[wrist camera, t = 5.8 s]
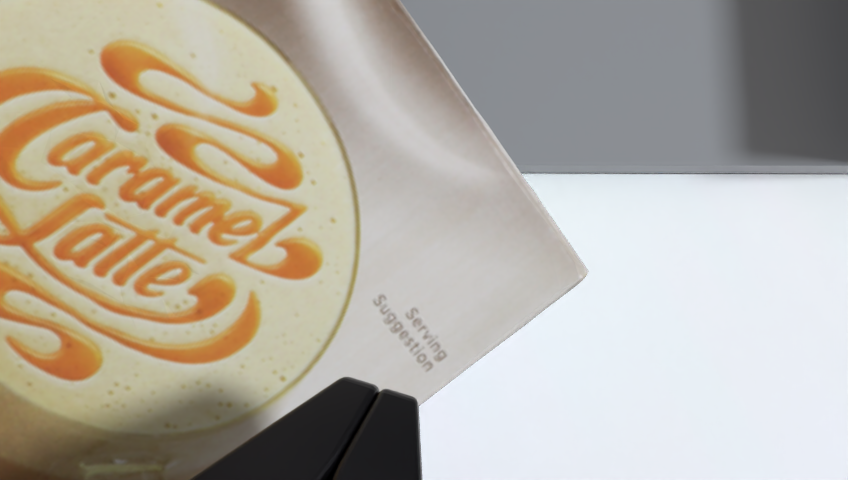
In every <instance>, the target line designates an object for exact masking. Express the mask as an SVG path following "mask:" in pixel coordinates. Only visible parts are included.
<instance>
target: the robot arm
mask: <svg viewBox="0 0 848 480" xmlns="http://www.w3.org/2000/svg"><path fill="white" fill-rule="evenodd" d="M188 480H422V462H421V443H420V424H419V405H418V401H417V399H416V398H415V397H413V396H410V395H406V394H403V393H400V392H397V391H394V390H390V389H383V390H381V391H380V390H379V388H378V387H377V386H376V385H374V384H371V383H368V382H365V381H362V380H358V379H355V378H352V377H342V378H340V379H338V380H337V381H335V382H334V383H332V384H331V385H329V386H328V387H326V388H325V389H323V390H322V391H320V392H319V393H317V394H316V395H314V396H313V397H311V398H310V399H308V400H307V401H305V402H304V403H302V404H301V405H299V406H298V407H296V408H295V409H293V410H292V411H290V412H289V413H287V414H286V415H284V416H283V417H281V418H280V419H278V420H277V421H275V422H274V423H272V424H271V425H269V426H268V427H266V428H265V429H263V430H262V431H260V432H259V433H257V434H256V435H254V436H253V437H251V438H250V439H248V440H247V441H245V442H244V443H242V444H241V445H239V446H238V447H236V448H235V449H233V450H232V451H230V452H229V453H227V454H226V455H224V456H223V457H221V458H220V459H218V460H217V461H215V462H214V463H212V464H211V465H209V466H208V467H206V468H205V469H203V470H202V471H200V472H199V473H197V474H196V475H194V476H193V477H191V478H190V479H188Z"/></svg>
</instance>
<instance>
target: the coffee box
mask: <svg viewBox="0 0 848 480" xmlns="http://www.w3.org/2000/svg"><path fill="white" fill-rule="evenodd" d="M587 273H588V270H587V268H586V267H585V265H584V264H583V262H582V261H581V259H580V258H579V256H578V255H577V254H576V252H575V251H574V249H573V248H572V246H571V245H570V243H569V242H568V241H567V239H566V238H565V236H564V235H563V233H562V232H561V230H560V229H559V228H558V226H557V225H556V223H555V222H554V220H553V219H552V217H551V216H550V215H549V213H548V212H547V210H546V209H545V207H544V206H543V204H542V203H541V202H540V200H539V198H538V197H537V195H536V193H535V192H534V191H533V189H532V188H531V187H530V185H529V184H528V183H527V182H526V180H525V179H524V177H523V176H522V174H521V173H520V171H519V170H518V168H517V167H516V165H515V164H514V162H513V161H512V159H511V158H510V157H509V155H508V154H507V152H506V151H505V149H504V148H503V146H502V145H501V144H500V142H499V141H498V139H497V138H496V136H495V135H494V133H493V132H492V130H491V129H490V127H489V126H488V124H487V123H486V122H485V120H484V119H483V118H482V116H481V115H480V114H479V112H478V111H477V110H476V108H475V107H474V106H473V104H472V103H471V101H470V100H469V98H468V97H467V95H466V94H465V92H464V91H463V90H462V88H461V87H460V85H459V84H458V82H457V81H456V79H455V78H454V76H453V75H452V73H451V72H450V71H449V69H448V68H447V66H446V65H445V63H444V62H443V60H442V59H441V57H440V56H439V55H438V53H437V52H436V50H435V49H434V47H433V46H432V45H431V43H430V42H429V40H428V39H427V38H426V36H425V35H424V33H423V32H422V31H421V29H420V28H419V26H418V25H417V24H416V22H415V21H414V19H413V18H412V17H411V15H410V14H409V12H408V11H407V9H406V8H405V7H404V5H403V4H402V2H401V1H400V0H0V480H188V479H190V478H191V477H193V476H194V475H196V474H197V473H199V472H200V471H202V470H203V469H205V468H206V467H208V466H209V465H211V464H212V463H214V462H215V461H217V460H218V459H220V458H221V457H223V456H224V455H226V454H227V453H229V452H230V451H232V450H233V449H235V448H236V447H238V446H239V445H241V444H242V443H244V442H245V441H247V440H248V439H250V438H251V437H253V436H254V435H256V434H257V433H259V432H260V431H262V430H263V429H265V428H266V427H268V426H269V425H271V424H272V423H274V422H275V421H277V420H278V419H280V418H281V417H283V416H284V415H286V414H287V413H289V412H290V411H292V410H293V409H295V408H296V407H298V406H299V405H301V404H302V403H304V402H305V401H307V400H308V399H310V398H311V397H313V396H314V395H316V394H317V393H319V392H320V391H322V390H323V389H325V388H326V387H328V386H329V385H331V384H332V383H334V382H335V381H337V380H338V379H340V378H342V377H352V378H355V379H358V380H362V381H365V382H368V383H371V384H374V385H376V386H377V387H378V388H379V390H380V391H381V390H383V389H390V390H394V391H397V392H400V393H403V394H406V395H410V396H413V397H415V398H416V399H417V401H418V405H419V406H420V405H421V404H422V403H424V402H425V401H426V400H428V399H429V398H430V397H431V396H433V395H434V394H435V393H437V392H438V391H439V390H440V389H442V388H443V387H444V386H446V385H447V384H448V383H450V382H451V381H452V380H453V379H455V378H456V377H457V376H459V375H460V374H461V373H462V372H464V371H465V370H466V369H468V368H469V367H470V366H471V365H473V364H474V363H475V362H477V361H478V360H479V359H481V358H482V357H483V356H485V355H486V354H487V353H489V352H490V351H491V350H493V349H494V348H495V347H497V346H498V345H499V344H501V343H502V342H503V341H505V340H506V339H507V338H509V337H510V336H511V335H513V334H514V333H515V332H517V331H518V330H519V329H521V328H522V327H523V326H525V325H526V324H527V323H528V322H530V321H531V320H532V319H533V318H535V317H536V316H537V315H539V314H540V313H541V312H542V311H544V310H545V309H546V308H548V307H549V306H550V305H551V304H553V303H554V302H555V301H557V300H558V299H559V298H561V297H562V296H563V295H565V294H566V293H567V292H569V291H570V290H571V289H573V288H574V287H575V286H576V285H578V284H579V283H580V282H581V281H582V280H583V279H584V278H585V277H586V275H587Z"/></svg>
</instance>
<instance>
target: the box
mask: <svg viewBox="0 0 848 480" xmlns="http://www.w3.org/2000/svg"><path fill="white" fill-rule="evenodd" d="M400 1H401V2H402V4H403V5H404V7H405V8H406V9H407V11H408V12H409V14H410V15H411V17H412V18H413V19H414V21H415V22H416V24H417V25H418V26H419V28H420V29H421V31H422V32H423V33H424V35H425V36H426V38H427V39H428V40H429V42H430V43H431V45H432V46H433V47H434V49H435V50H436V52H437V53H438V55H439V56H440V57H441V59H442V60H443V62H444V63H445V65H446V66H447V68H448V69H449V71H450V72H451V73H452V75H453V76H454V78H455V79H456V81H457V82H458V84H459V85H460V87H461V88H462V90H463V91H464V92H465V94H466V95H467V97H468V98H469V100H470V101H471V103H472V104H473V106H474V107H475V108H476V110H477V111H478V112H479V114H480V115H481V116H482V118H483V119H484V120H485V122H486V123H487V124H488V126H489V127H490V129H491V130H492V132H493V133H494V135H495V136H496V138H497V139H498V141H499V142H500V144H501V145H502V146H503V148H504V149H505V151H506V152H507V154H508V155H509V157H510V158H511V159H512V161H513V162H514V164H515V165H516V167H517V168H518V170H519V171H520V173H792V174H848V0H400Z"/></svg>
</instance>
